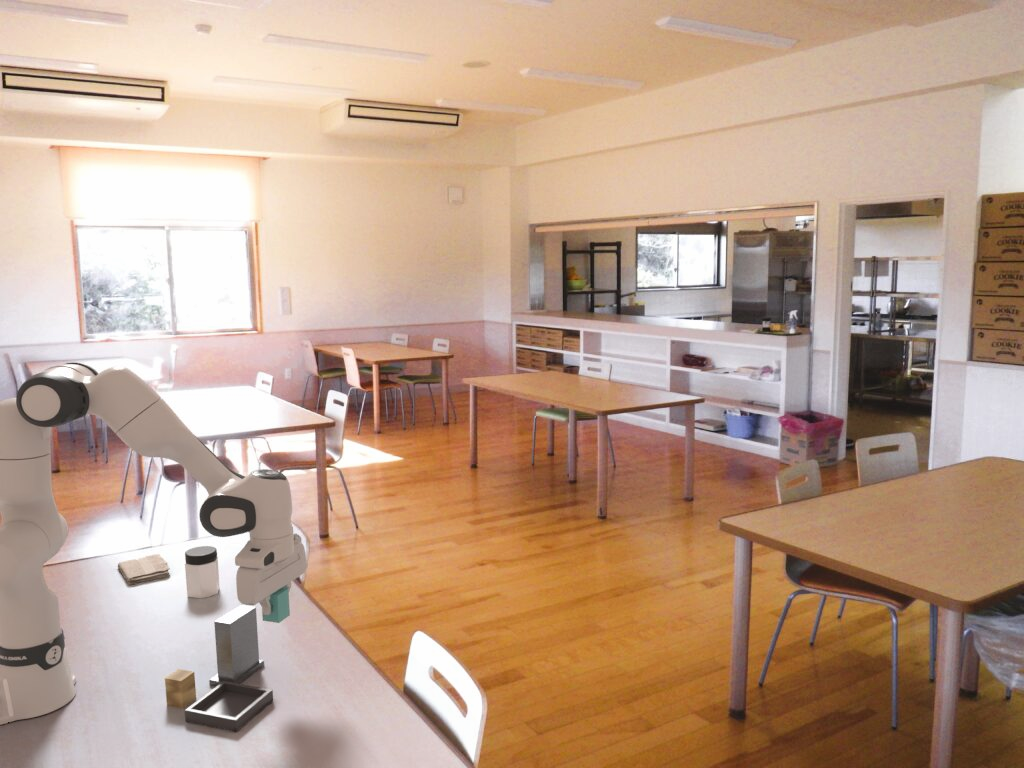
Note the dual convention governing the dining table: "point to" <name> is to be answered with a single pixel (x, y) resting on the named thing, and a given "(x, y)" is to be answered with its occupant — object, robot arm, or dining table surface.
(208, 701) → the black tray
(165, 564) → the washcloth
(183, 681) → the ochre block
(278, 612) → the teal block
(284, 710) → the dining table surface
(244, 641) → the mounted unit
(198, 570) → the jar
